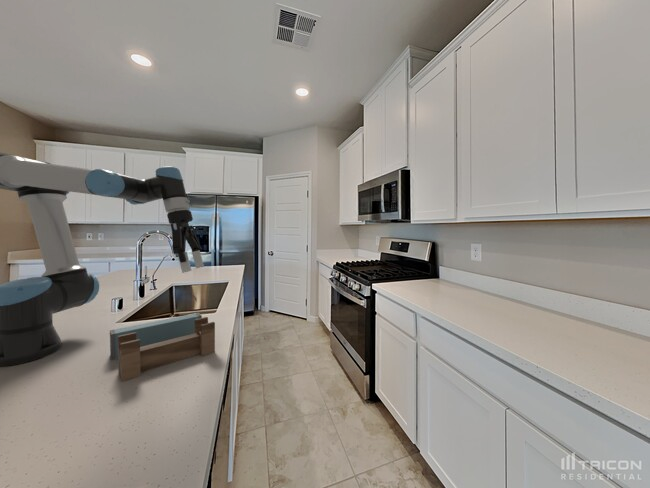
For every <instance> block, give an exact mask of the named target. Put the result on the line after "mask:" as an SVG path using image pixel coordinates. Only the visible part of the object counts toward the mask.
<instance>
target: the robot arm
mask: <svg viewBox="0 0 650 488" xmlns="http://www.w3.org/2000/svg"><path fill="white" fill-rule="evenodd" d="M0 189H1V190H7V191H13V192H17V196H18V199H19V201H21V202H23V203H25V204H26V205H27V207H28V210H29V214H30V217H31V221H32V224H33V225H32V226H33V228H34V232H35V235H36V240H37V242H38V246H39V249H40V250H39V251H40V253H41V256H42V257H41V258H42V260H43V265H44V268H45V271H44V273H42V274H41V276H34V277H28V278H21V279H16V280H11V281H8V282H4V283H1V284H0V367H8V366H15V365H20V364H25V363H29V362H32V361H36V360H38V359H42V358H44V357H47V356H50V355H52V354H54V353H56V352H57V351H59V350H60V349H61V347H62V339H61V337H60V335H59V334H58V332H57V330H56V329H55V327H54V322H53V321H54V320H53V315H54V314H57V313H61V312H63V311H67V310H70V309H73V308H78V307H81V306H83V305H86V304H88V303H91V302H92V301H93V300H94V299H95V298H96V296H97V295H99V291H100V281H99V280H98V277H96V276H94V274H92V273H89V272H88V270H87V268H86V267H85V266H83V265H81V263H80V262H79V258H78V254H77V251H76V247H75V243H74V239H73V236H72V233H71V229H70V228H71V227H70V225H69V221H68V218H67V214H66V211H65V207H64V201H66V199H68V197H67V195H68V194H69V193H77V194H78V193H79V194H84V195H95V196H101V197H105V198H115V199H123V200H125V201H126V202H128V203H129V204H131V205H144V204H146V203H150V202H154V201H157V200H161V199H162V201H163V205H164V209H165V212H166V213H167V214H166V216H167V220H168V224H170V229H171V235H172V237H171V238H172V242H171V243H172V253H173V255H177V257H178V258H177V259H178V262H179V264H180V270H181V272H182V273H183V274H185V273H188V272H192V267H191V266H192V265H191V264H190V263H191V262H190V259H189V255H188V251H186V243H187V244H188V246H189V248H190V249H191V251H192V252H191V255H192V258H193V259H192V260H193V263H194V266H195V269H199V268H203V267H205V265H204V261H203V257H202V254H201V251H202V250H203V248H202V246H201V244H200V242H199V239H198V236H197V235H196V232H195V230H194V226H193V225H189V224H190V223H191V222H192V221H193V220H194V218H193V214H192V211H191V210H190V202H191V201H190V200H189V199H188V196H187V193H186V189H185V185H184V179H183V177H182V174H181V171H180V169H179V168H177V167H175V166H161V167H158V168H157V169H155V176H153V177H151V178H146V179H140V178H137V177H133V176H130V175H125V174H121V173H117V172H115V171H113V170H108V169H102V168H95V169H92V168H91V169H89V168H83V167H77V166H68V165H60V164H53V163H51V162H47V161H42V160H41V161H40V160H36V159H33V158H29V157H28V158H27V157H24V156H19V155H14V154H11V153H6V152H0ZM189 222H190V223H189Z"/></svg>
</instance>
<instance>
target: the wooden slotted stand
mask: <svg viewBox="0 0 650 488" xmlns="http://www.w3.org/2000/svg"><path fill="white" fill-rule="evenodd" d="M215 332H216V322H215V321H212V322H209V318H208V316H204V317H202V318H199V319H195V334H191V335H187V336H183V337H179V338H175V339H171V340H167V341H163V342H159V343H155V344H151V345H147V346H143V347H140V339H137V340H136V332H134V333H129V334H124V335H119V336H118V354H119V358H118V372H119V376H120V380H121V382H124V381H129V380H131V379H134V378H138V377H140V376H141V373H143V372H145V371H147V370H148V371H149V370H151V369H155V368H158V367H162V366H164V365H165V366H166V365H168V364H171V363H175V362H178V361H181V360H184V359H188V358H190V357H194V356H198V355H200V356H201V357H205V356H207V355H210V354H214V353H215V352H216V333H215Z"/></svg>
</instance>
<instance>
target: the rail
mask: <svg viewBox="0 0 650 488" xmlns="http://www.w3.org/2000/svg"><path fill="white" fill-rule="evenodd" d="M199 318H203V315H201V314H200V313H199V312H196V313H195V312H194V313H191V314H190V313H189V314H185V315H181V316H176V317H171V318H165V319H161V320H155V321H152V322H146V323H141V324H135V325H130V326H126V327H121V328H115V329H110V330H109V344H110V345H109V346H110V349H109V351H110V359H111V361H113V360H117V359H119V354H118V336H119V335H124V334H129V333H134V332H136V340H137V339H140V347H143V346H147V345H151V344H155V343H159V342H163V341H167V340H171V339H175V338H179V337H183V336H187V335H191V334H195V319H199Z"/></svg>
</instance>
